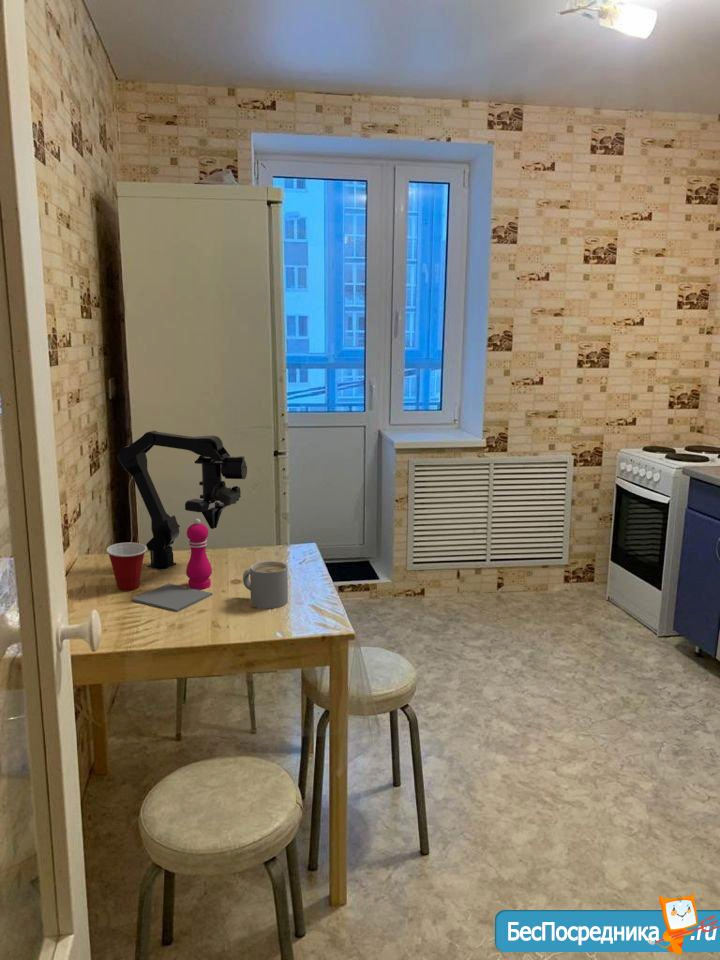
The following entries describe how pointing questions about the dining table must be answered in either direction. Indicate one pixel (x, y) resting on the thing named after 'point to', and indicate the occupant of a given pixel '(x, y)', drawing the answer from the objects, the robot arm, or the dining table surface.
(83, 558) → the dining table surface
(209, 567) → the pepper mill
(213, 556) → the dining table surface
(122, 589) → the plastic cup
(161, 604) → the mat
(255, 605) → the coffee mug
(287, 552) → the dining table surface
